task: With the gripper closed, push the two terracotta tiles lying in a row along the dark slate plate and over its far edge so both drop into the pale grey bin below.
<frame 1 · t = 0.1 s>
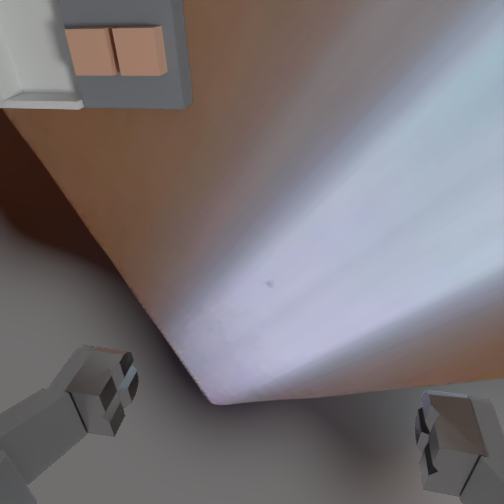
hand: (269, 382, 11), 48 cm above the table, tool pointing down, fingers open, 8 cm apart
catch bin: (44, 45, 55), on the table
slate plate: (135, 45, 53), on the table
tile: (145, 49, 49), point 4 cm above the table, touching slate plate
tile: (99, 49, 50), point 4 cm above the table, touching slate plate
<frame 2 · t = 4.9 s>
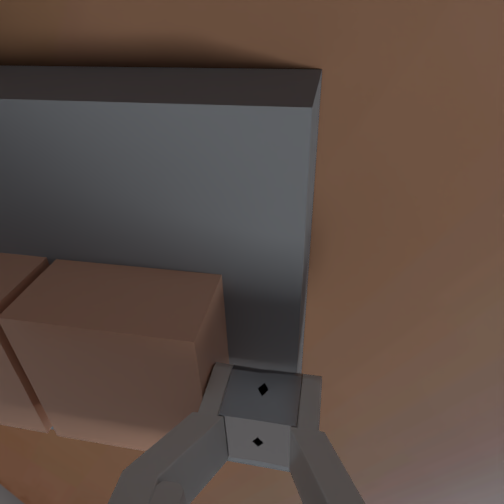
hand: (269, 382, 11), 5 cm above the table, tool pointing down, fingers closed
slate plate: (135, 253, 17), on the table
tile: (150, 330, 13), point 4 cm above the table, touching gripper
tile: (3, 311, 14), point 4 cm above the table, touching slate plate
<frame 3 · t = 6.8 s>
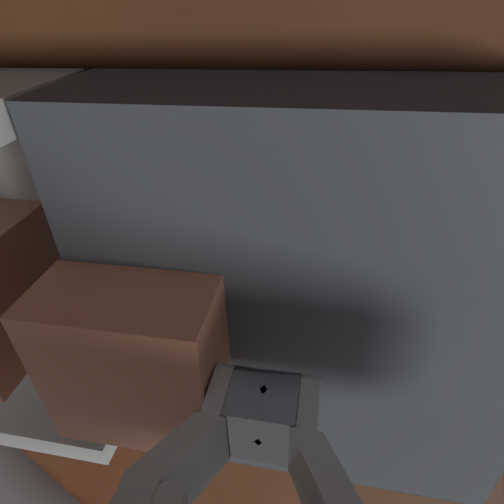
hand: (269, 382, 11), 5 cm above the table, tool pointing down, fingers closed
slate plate: (307, 270, 15), on the table
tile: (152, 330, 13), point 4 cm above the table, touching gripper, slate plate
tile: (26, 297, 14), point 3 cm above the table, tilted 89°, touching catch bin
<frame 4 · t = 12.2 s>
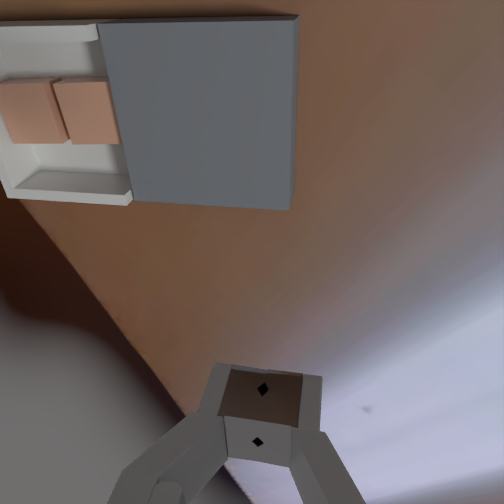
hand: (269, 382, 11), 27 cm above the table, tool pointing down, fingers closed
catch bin: (74, 107, 37), on the table
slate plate: (214, 111, 35), on the table
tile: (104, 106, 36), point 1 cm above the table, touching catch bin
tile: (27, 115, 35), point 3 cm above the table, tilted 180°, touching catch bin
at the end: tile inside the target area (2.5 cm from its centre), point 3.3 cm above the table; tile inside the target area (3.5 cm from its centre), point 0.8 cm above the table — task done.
